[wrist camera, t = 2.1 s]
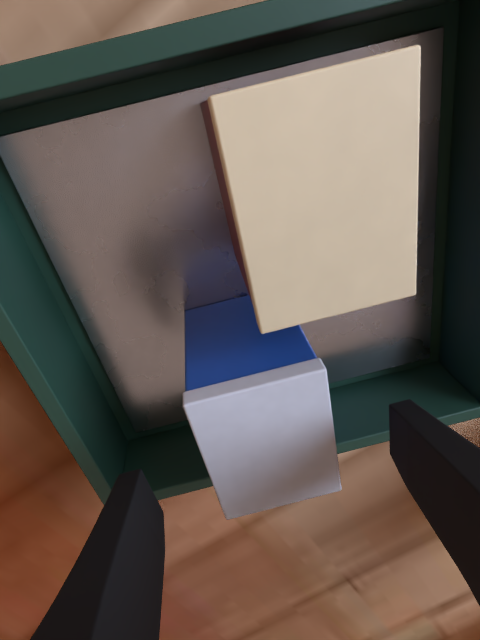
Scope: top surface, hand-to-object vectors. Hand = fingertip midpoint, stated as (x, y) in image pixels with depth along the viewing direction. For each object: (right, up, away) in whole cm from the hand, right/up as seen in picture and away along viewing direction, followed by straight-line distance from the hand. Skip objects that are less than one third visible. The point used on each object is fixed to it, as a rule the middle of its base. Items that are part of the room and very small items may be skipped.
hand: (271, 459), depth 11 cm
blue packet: (-1, +3, +5) cm, 6 cm away
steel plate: (0, +6, +4) cm, 7 cm away
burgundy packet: (0, +9, +2) cm, 9 cm away
